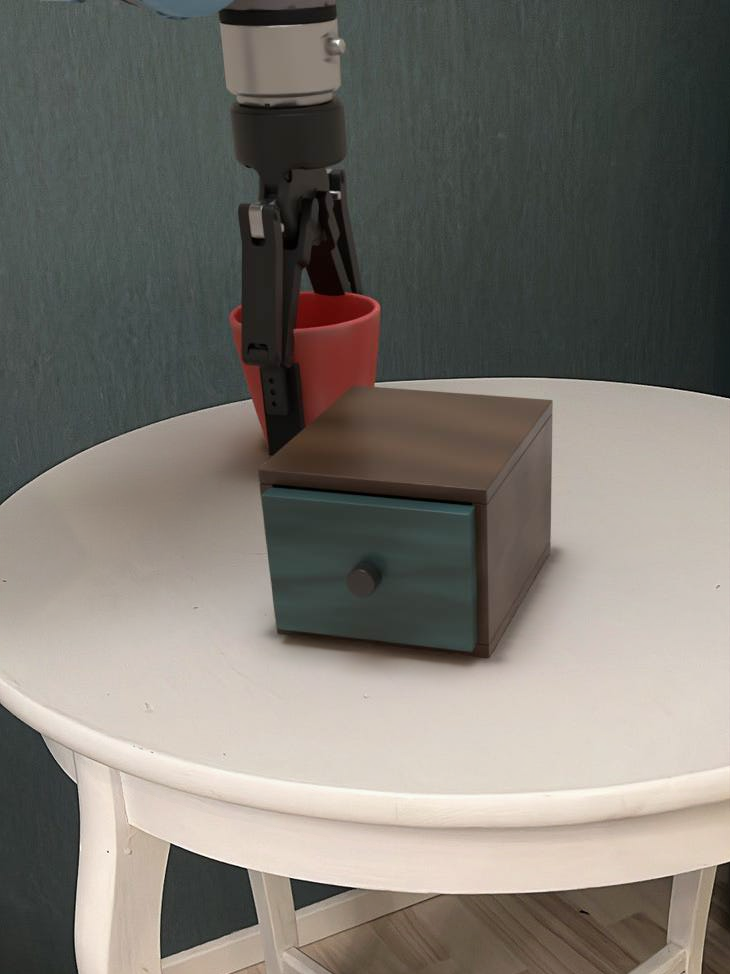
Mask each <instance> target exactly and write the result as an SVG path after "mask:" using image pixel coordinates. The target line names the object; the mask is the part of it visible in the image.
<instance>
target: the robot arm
mask: <svg viewBox="0 0 730 974" xmlns="http://www.w3.org/2000/svg"><path fill="white" fill-rule="evenodd" d="M38 1H39V2H71V3H72V4H73V5H80V4H81V5H82V4H83V3H85V2H87V1H89V2H90V1H91V0H38ZM115 1H117V2H120V3H123V4H127V5H130V6H135V7H139V8H144V9H147V10H150V11H152V12H153V13H155V14H157V15H158V16H161V17H163V18H164V19H169V20H174V21H185V20H188V19H191V18H199V17H200V18H201V17H206V16H210V15H213V14H215V13H217V12H218V20H219V27H220V35H221V46H222V47H221V48H222V57H223V58H222V59H223V67H224V74H225V75H224V77H225V86H226V89H227V91H228V92H229V93H230V94H232V95H234V96H236V100H235V101H233V103H232V105H231V107H230V108H229V116H230V125H231V134H232V143H233V153H234V157H235V160H236V161H237V163H238V164H239V165H240V166H242V167H244V168H247V169H253V170H254V171H255V172H256V174H258V191H257V192H258V194H257V202H256V203H244V202H241V203H239V204H238V208H237V218H238V224H239V226H238V227H239V232H240V241H241V305H242V342H241V355H242V361H243V363H244V364H245V365H251V366H259V369H260V378H261V386H262V395H263V404H264V413H265V422H266V431H267V440H268V445H267V447H268V456H270V457H273V456H274V455H275V454H276V453H277V452H278V451H279V450H280V449H282V448H283V447H284V446H285V445H286V444H287V443H288V442H289V441H291V440H292V439H293V438H294V437H295V436H296V435H297V434H299V433H300V432H301V431H302V430H303V429H304V428H305V420H304V409H303V399H302V388H301V378H300V367H299V364H298V363H292V360H293V351H294V334H293V331H294V329H296V323H297V313H298V304H299V294H300V292H301V284H302V283H301V282H302V275H303V274H302V273H303V270H304V269H305V270H306V273H307V275H308V276H307V277H308V279H309V282H310V284H311V287H312V291H314V293H316V294H321V295H326V296H341V295H345V293H353V294H359V295H363V296H365V294H364V289H363V282H362V278H361V272H360V271H361V270H360V266H359V261H358V260H359V259H358V255H357V249H356V243H355V239H354V231H353V227H352V222H351V216H350V209H349V205H348V191H347V190H348V189H347V175H346V171H345V169H343V168H329V167H332V166H335V165H337V164H340V163H342V162H343V161H344V159H346V156H347V155H348V148H347V147H348V146H347V132H346V118H345V104H344V103H343V102H341V99H340V98H339V97H336V96H334V92H336V91H337V90H338V89H340V87H341V86H342V74H341V72H342V71H341V60H340V59H341V58H340V57H341V56H343V55H344V54H345V52H346V48H347V47H346V46H347V45H346V42H345V40H344V39H343V38H341V37H339V27H338V18H337V17H338V12H337V3H336V0H115Z"/></svg>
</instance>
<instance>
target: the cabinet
mask: <svg viewBox="0 0 730 974" xmlns="http://www.w3.org/2000/svg"><path fill="white" fill-rule="evenodd" d="M553 407H554V406H553V400H552V399H544V398H530V397H518V396H517V397H516V396H504V395H503V396H502V395H489V394H477V393H474V394H473V393H463V392H450V391H449V392H448V391H437V390H436V391H435V390H421V389H408V388H395V387H394V388H393V387H381V386H380V387H379V386H374V387H368V386H354V385H353V386H352V387H351V388H349V389H348V390H347V391H346V392H345V393H344V394H343V395H341V396H340V397H339V398H338V399H337V400H336V401H335V402H334V403H332V404H331V405H330V406H329V407H328V408H327V409H326V410H325V411H323V412H322V413H321V414H320V415H319V416H318V417H317V418H315V419H314V420H313V421H312V422H311V423H310V424H309V425H308V426H306V427H305V428H304V429H303V430H302V431H301V432H300V433H299V434H297V435H296V436H295V437H294V438H293V439H292V440H291V441H289V442H288V443H287V444H286V445H285V446H284V447H283V448H282V449H280V450H279V451H278V452H277V453H276V454H275V455H274V456H270V458H269V459H268V460H267V461H265V462H264V463H263V464H262V465H260V467H259V468H258V469H257V474H258V483H259V493H260V496H261V495H262V494H263V493H264V492H265V491H266V490H267V489H268V488H269V487H273V488H284V489H292V486H295V487H306V488H317V489H328V490H339V491H350V492H361V493H371V494H382V495H393V496H404V497H415V498H426V499H436V500H447V501H458V502H469V503H473V504H472V506H475V521H476V571H477V621H478V643H477V644H476V646H475V648H474V649H473V651H472V652H468V651H460V650H451V649H443V648H434V647H426V646H417V645H409V644H401V643H392V642H384V641H375V640H367V639H358V638H350V637H342V636H333V635H325V634H316V633H308V632H299V631H291V630H283V629H277V627H276V626H275V628H276V629H275V630H276V633H278V634H286V635H295V636H303V637H312V638H319V639H320V638H321V639H326V640H327V639H328V640H336V641H345V642H351V643H353V642H354V643H362V644H369V645H378V646H386V647H396V648H402V649H403V648H404V649H412V650H419V651H420V650H422V651H429V652H437V653H445V654H454V655H461V656H462V655H463V656H470V657H477V658H490V656H491V655H492V653H493V651H494V649H495V648H496V647H497V644H498V643H499V641H500V640H501V638H502V636H503V634H504V632H505V631H506V629H507V627H508V626H509V624H510V622H511V620H512V618H513V617H514V615H515V614H516V612H517V610H518V608H519V607H520V605H521V603H522V602H523V600H524V598H525V596H526V595H527V593H528V591H529V589H530V588H531V586H532V584H533V582H534V581H535V579H536V577H537V575H538V574H539V572H540V571H541V569H542V567H543V565H544V563H545V562H546V560H547V558H548V556H549V555H550V554H551V544H552V543H551V542H552V541H551V540H552V538H551V537H552V478H553V477H552V476H553V475H552V474H553V466H552V465H553ZM260 501H261V503H262V499H261V498H260ZM261 510H262V512H263V507H262V506H261ZM262 518H263V520H264V516H263V515H262ZM263 526H264V527H263V529H265V524H264V523H263ZM264 535H265V537H266V533H265V532H264ZM265 543H266V546H267V541H266V540H265ZM266 552H267V554H268V550H267V549H266ZM267 560H268V563H269V558H268V557H267ZM268 569H269V570H268V571H270V567H269V566H268ZM269 578H270V580H271V576H270V575H269ZM270 586H271V588H272V584H271V583H270ZM271 594H272V597H273V593H272V592H271ZM272 603H273V605H274V601H273V600H272ZM273 612H274V614H275V610H274V609H273ZM274 619H275V620H276V618H275V617H274Z"/></svg>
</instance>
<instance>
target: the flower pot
mask: <svg viewBox="0 0 730 974" xmlns="http://www.w3.org/2000/svg"><path fill="white" fill-rule="evenodd" d="M229 324H230V325H229V326H230V329H231V333H232V337H233V340H234V344H235V348H236V351H237V355H238V358H239V361H240V364H241V365H240V366H241V368H242V371H243V375H244V379H245V381H246V384H247V388H248V391H249V394H250V399H251V401H252V404H253V407H254V410H255V412H256V416H257V419H258V422H259V425H260V428H261V431H262V434H263V437H264V441H265V443H266V445H267V446H268V440H267V431H266V422H265V413H264V404H263V395H262V386H261V378H260V369H259V366H251V365H245V364H244V363H243V361H242V355H241V342H242V304H239V306H236V307H235V308H233V310H232V311H231V312H230V314H229ZM380 325H381V304H380V303H379V302H378V301H377V300H376V299H374V298H372V297H370V296H366V295H364V296H363V295H359V294H353V293H345V295H341V296H326V295H321V294H316V293H314V290H310V291H300V294H299V304H298V313H297V323H296V329H294V331H293V334H294V351H293V360H292V363H298V364H299V367H300V378H301V388H302V399H303V409H304V420H305V427H306V426H308V425H309V424H310V423H311V422H312V421H313V420H314V419H315V418H317V417H318V416H319V415H320V414H321V413H322V412H323V411H325V410H326V409H327V408H328V407H329V406H330V405H331V404H332V403H334V402H335V401H336V400H337V399H338V398H339V397H340V396H341V395H343V394H344V393H345V392H346V391H347V390H348V389H349V388H351V387H352V386H353V385H354V386H368V387H375V385H376V374H377V373H376V372H377V363H378V352H379V341H380V327H381V326H380Z"/></svg>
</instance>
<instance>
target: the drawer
mask: <svg viewBox="0 0 730 974" xmlns="http://www.w3.org/2000/svg"><path fill="white" fill-rule="evenodd" d="M261 499H262V502H261V508H262V507H263V511H262V517H263V516H264V519H263V525H264V524H265V528H264V534H265V533H266V536H265V542H266V541H267V545H266V551H267V550H268V553H267V559H268V558H269V562H268V568H269V567H270V570H269V577H270V576H271V579H270V585H271V584H272V587H271V594H272V593H273V596H272V602H273V601H274V604H273V611H274V610H275V613H274V619H275V618H276V619H275V628H276V627H277V629H283V630H291V631H299V632H308V633H316V634H325V635H333V636H342V637H350V638H358V639H367V640H375V641H384V642H392V643H401V644H409V645H417V646H426V647H434V648H443V649H451V650H460V651H468V652H472V651H473V649H474V648H475V646H476V644H477V643H478V621H477V571H476V521H475V506H472V504H473V503H469V502H458V501H447V500H436V499H426V498H415V497H404V496H393V495H382V494H371V493H361V492H350V491H339V490H328V489H317V488H306V487H295V486H292V489H284V488H273V487H269V488H268V489H267V490H266V491H265V492H264V493H263V494H262V495H261V494H260V500H261ZM277 629H276V630H277Z"/></svg>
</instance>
